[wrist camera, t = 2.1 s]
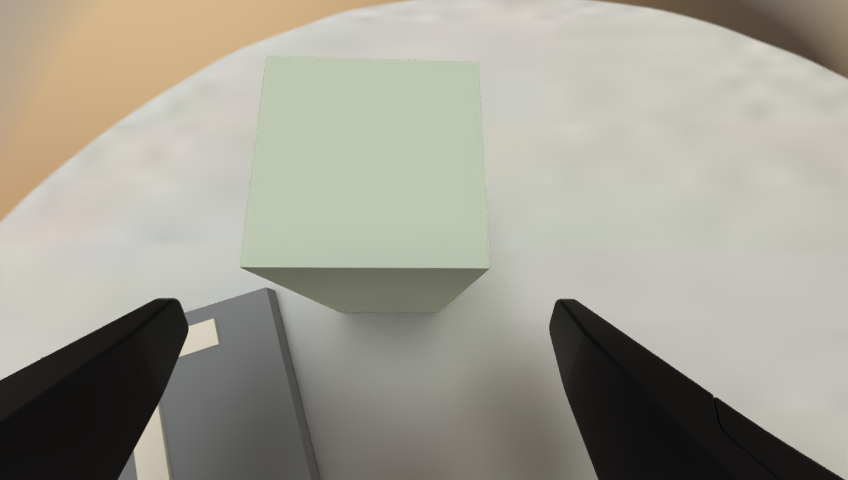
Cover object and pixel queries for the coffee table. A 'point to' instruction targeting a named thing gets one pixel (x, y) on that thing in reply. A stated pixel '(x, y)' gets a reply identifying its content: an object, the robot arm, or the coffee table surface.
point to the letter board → (229, 402)
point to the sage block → (368, 182)
